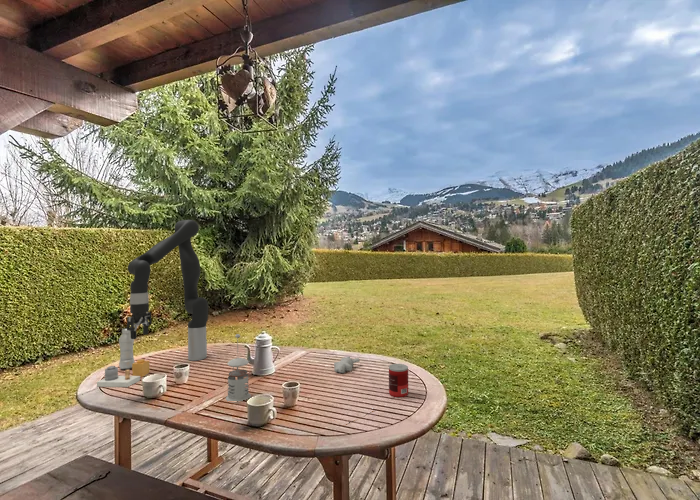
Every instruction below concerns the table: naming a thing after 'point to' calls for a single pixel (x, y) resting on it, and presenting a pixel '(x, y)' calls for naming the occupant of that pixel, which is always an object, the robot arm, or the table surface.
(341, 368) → the bunny figurine
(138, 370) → the domed tan cube
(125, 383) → the white rectangular plate
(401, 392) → the canned food
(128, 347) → the plastic bottle
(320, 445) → the table surface
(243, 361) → the french press
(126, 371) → the copper post
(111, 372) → the capped post
